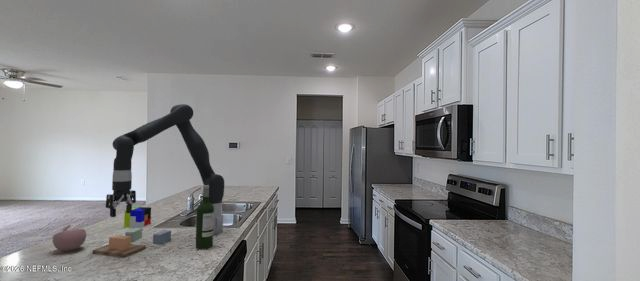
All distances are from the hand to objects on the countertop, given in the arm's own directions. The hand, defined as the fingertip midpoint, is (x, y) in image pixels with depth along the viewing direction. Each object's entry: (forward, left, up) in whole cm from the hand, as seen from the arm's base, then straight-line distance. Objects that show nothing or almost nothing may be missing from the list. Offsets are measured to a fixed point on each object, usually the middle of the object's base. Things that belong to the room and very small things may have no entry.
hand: (121, 214), depth 144 cm
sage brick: (+8, -16, -17) cm, 24 cm away
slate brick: (-8, -17, -17) cm, 25 cm away
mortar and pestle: (+22, +6, -17) cm, 28 cm away
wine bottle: (-32, -17, -17) cm, 40 cm away
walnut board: (0, 0, -17) cm, 17 cm away
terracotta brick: (0, 0, -15) cm, 15 cm away
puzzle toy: (+27, -39, -17) cm, 50 cm away
